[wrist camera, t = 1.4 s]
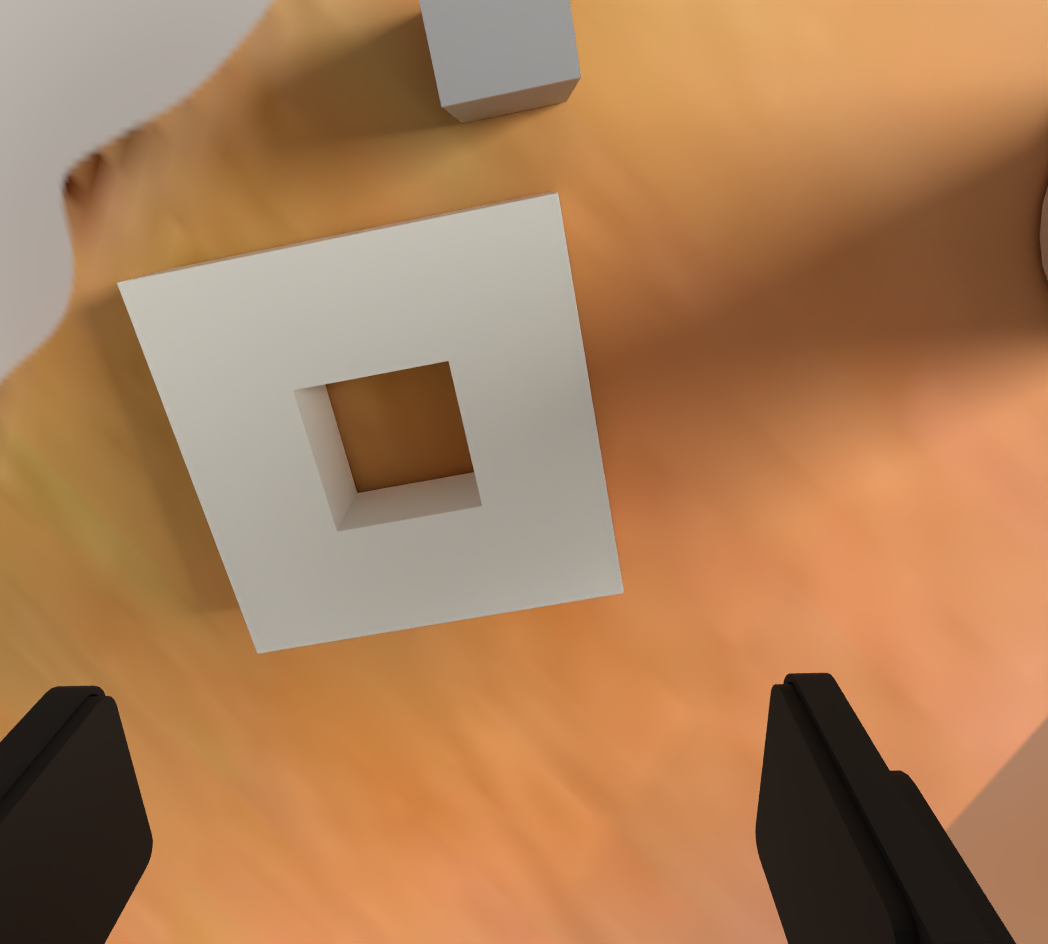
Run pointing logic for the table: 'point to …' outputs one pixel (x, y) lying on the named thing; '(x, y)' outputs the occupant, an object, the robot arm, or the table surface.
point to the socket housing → (369, 349)
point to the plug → (500, 55)
